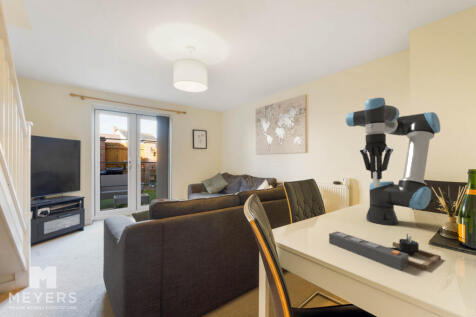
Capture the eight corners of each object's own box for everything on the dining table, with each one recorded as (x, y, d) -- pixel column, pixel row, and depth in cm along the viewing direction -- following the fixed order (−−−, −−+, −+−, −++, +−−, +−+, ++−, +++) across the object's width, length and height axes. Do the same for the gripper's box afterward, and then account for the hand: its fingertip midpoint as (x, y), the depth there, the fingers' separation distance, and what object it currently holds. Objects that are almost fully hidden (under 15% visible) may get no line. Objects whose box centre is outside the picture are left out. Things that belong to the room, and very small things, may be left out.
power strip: (337, 240, 92) (337, 230, 92) (408, 266, 70) (408, 252, 70) (329, 242, 89) (329, 232, 89) (400, 270, 67) (400, 256, 67)
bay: (394, 245, 86) (394, 242, 86) (440, 260, 74) (440, 255, 74) (376, 253, 79) (376, 249, 79) (424, 271, 67) (424, 266, 67)
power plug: (381, 253, 80) (421, 259, 75) (381, 233, 80) (421, 238, 75) (378, 247, 85) (415, 252, 80) (378, 228, 85) (415, 233, 80)
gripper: (355, 135, 96) (357, 185, 96) (387, 131, 84) (389, 189, 85) (364, 135, 100) (365, 184, 100) (396, 132, 88) (397, 187, 89)
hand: (376, 186), depth 92 cm, fingers closed
